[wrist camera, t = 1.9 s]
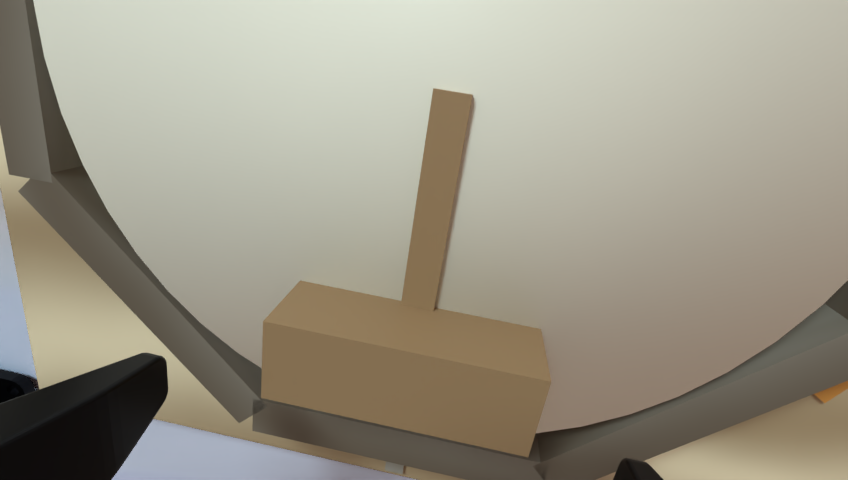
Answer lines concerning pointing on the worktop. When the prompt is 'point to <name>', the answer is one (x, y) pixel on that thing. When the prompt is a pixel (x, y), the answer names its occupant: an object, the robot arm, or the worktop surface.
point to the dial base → (338, 435)
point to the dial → (471, 191)
